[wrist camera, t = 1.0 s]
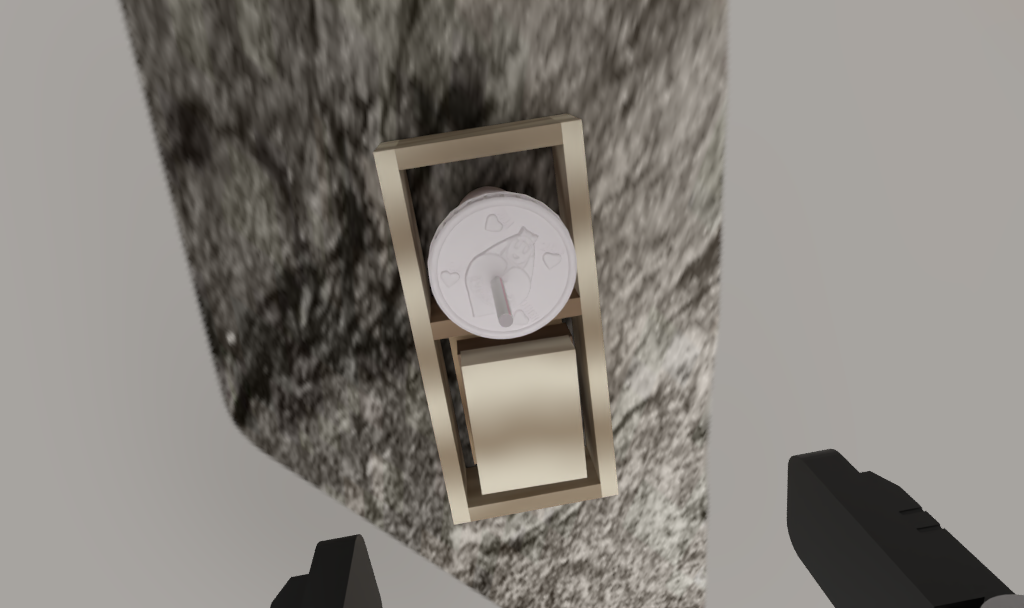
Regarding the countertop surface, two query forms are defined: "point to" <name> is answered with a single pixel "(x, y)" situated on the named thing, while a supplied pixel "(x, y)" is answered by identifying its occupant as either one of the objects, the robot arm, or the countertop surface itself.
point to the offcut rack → (436, 325)
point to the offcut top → (525, 413)
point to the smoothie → (501, 264)
